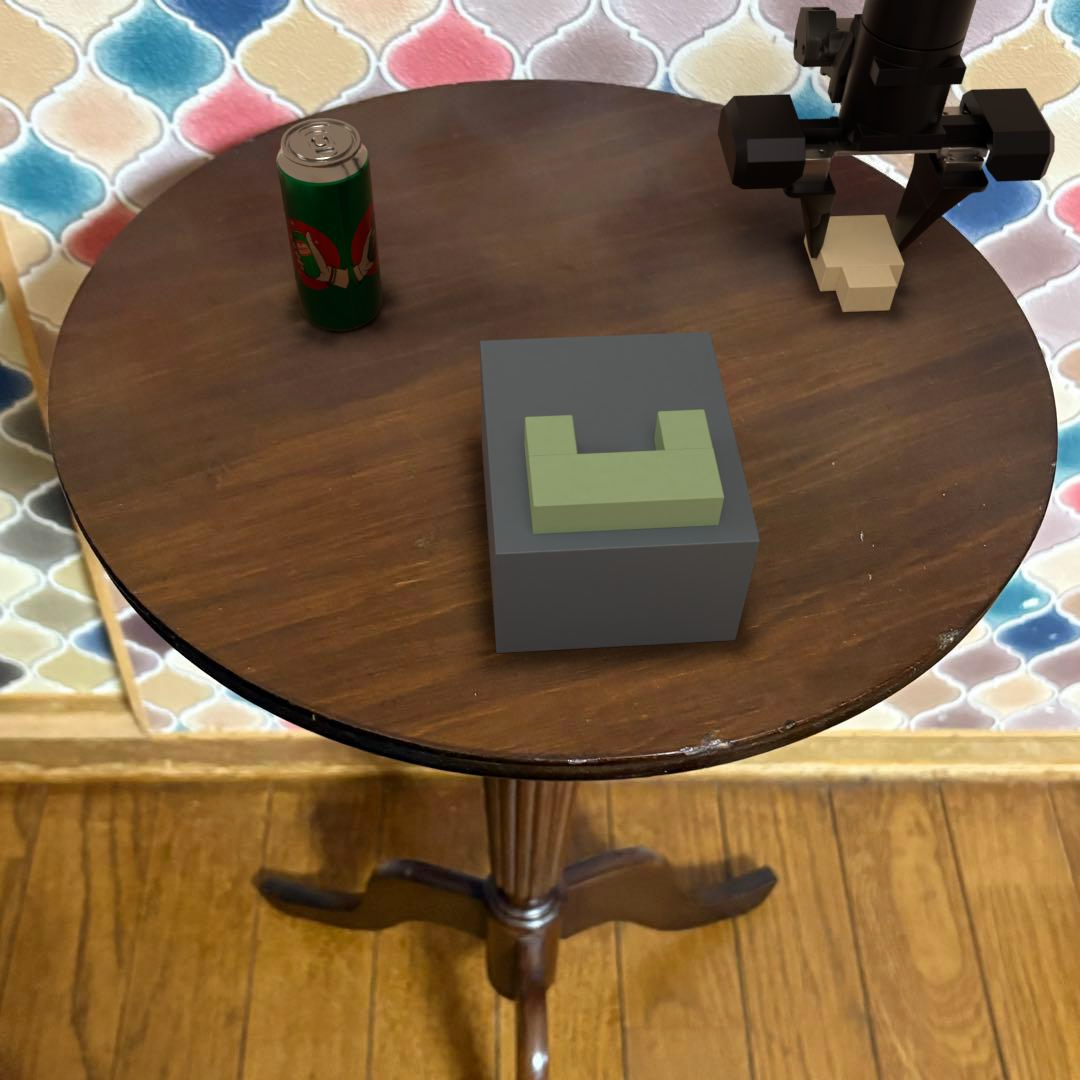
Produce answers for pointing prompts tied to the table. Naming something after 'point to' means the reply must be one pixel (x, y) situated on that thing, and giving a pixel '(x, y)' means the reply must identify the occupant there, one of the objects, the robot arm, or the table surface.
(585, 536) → the block
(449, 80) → the table surface
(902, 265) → the cream pad
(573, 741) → the table surface
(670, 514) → the green pad
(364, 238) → the soda can
